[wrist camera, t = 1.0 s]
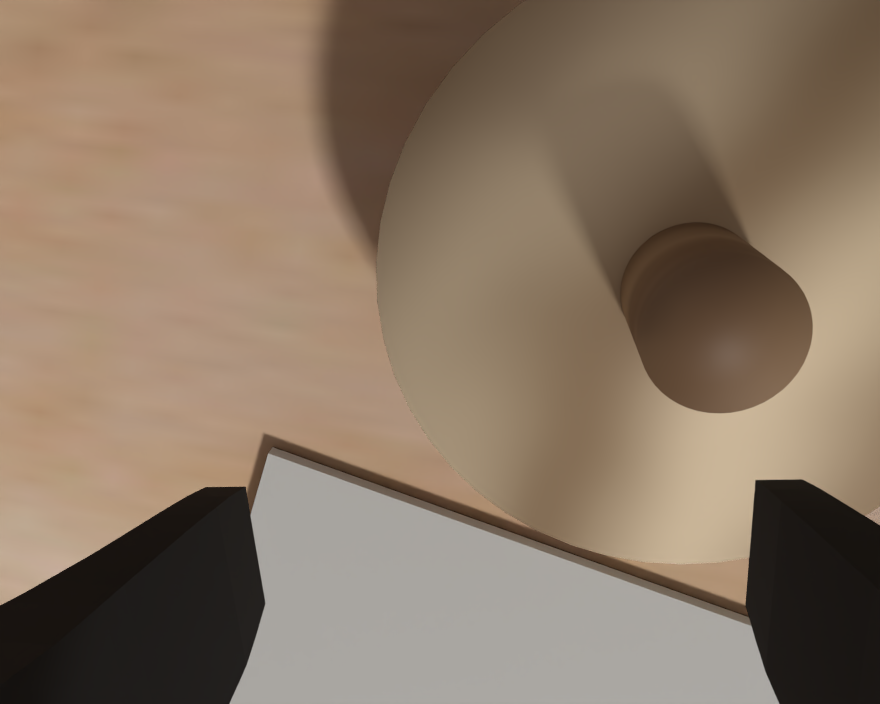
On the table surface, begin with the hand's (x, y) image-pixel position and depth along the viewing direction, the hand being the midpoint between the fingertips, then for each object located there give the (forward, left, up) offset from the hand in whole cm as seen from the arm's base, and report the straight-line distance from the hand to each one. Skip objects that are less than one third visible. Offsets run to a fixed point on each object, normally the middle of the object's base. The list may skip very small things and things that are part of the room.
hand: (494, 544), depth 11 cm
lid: (-3, -3, -7) cm, 8 cm away
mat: (-4, +14, -10) cm, 17 cm away
